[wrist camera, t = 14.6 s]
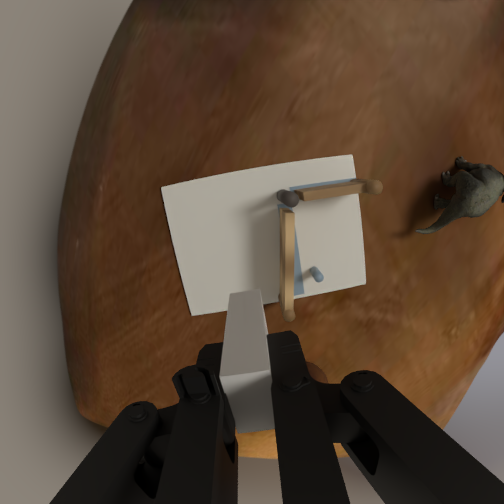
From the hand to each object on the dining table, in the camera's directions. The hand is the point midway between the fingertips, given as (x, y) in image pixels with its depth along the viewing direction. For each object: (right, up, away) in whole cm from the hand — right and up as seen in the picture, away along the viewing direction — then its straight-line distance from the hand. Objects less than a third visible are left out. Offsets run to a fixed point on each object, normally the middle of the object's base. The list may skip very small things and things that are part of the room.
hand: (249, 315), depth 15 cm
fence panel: (+4, +3, +24) cm, 24 cm away
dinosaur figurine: (+31, +13, +23) cm, 41 cm away
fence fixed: (+9, +11, +22) cm, 27 cm away
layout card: (+2, +5, +24) cm, 25 cm away
